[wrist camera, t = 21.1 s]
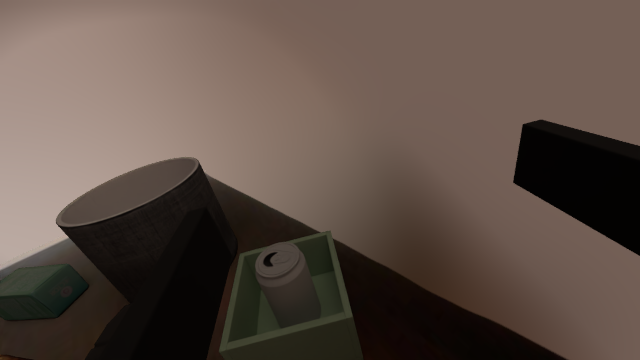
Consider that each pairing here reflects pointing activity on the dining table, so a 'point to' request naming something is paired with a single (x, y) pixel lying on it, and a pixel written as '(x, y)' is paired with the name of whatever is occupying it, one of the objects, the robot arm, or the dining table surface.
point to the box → (39, 292)
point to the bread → (11, 358)
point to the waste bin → (298, 340)
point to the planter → (139, 219)
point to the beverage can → (287, 284)
